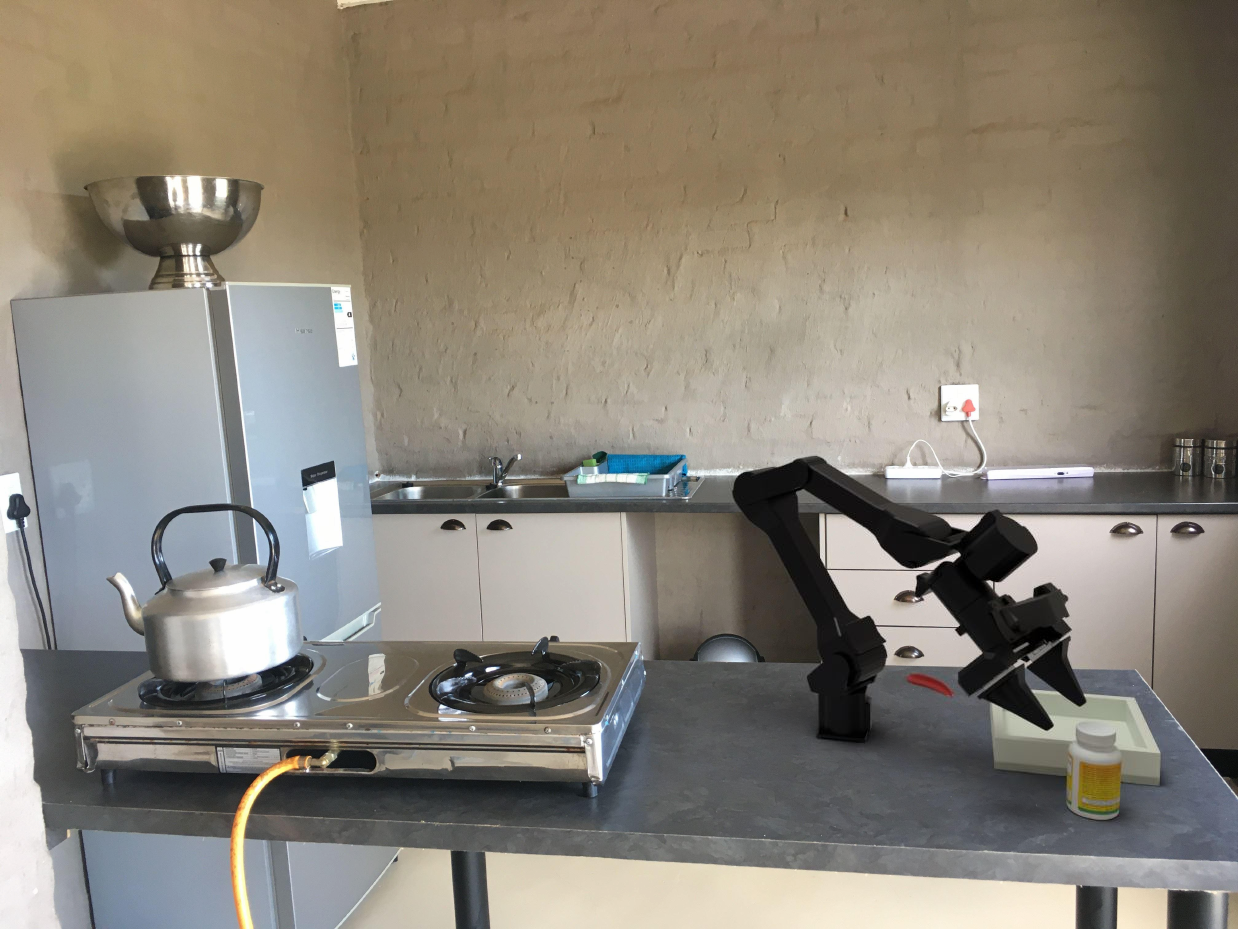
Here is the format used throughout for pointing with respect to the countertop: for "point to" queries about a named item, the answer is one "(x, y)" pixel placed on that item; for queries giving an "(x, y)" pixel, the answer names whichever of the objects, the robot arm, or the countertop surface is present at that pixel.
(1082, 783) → the supplement bottle
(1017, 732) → the tray
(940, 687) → the cayenne pepper
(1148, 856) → the countertop surface
